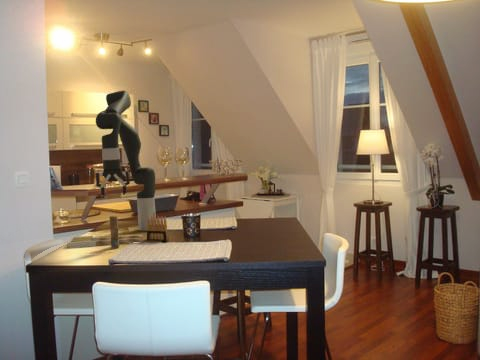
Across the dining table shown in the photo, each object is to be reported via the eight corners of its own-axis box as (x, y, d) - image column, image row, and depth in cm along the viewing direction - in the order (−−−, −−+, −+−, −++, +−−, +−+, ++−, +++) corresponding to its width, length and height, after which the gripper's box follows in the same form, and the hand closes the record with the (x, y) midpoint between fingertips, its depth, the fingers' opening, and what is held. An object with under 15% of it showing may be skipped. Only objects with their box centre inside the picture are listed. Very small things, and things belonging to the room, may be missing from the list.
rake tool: (119, 246, 210) (117, 215, 209) (118, 249, 205) (116, 216, 204) (112, 247, 210) (110, 215, 209) (111, 249, 205) (109, 217, 204)
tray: (99, 243, 222) (98, 236, 222) (96, 247, 212) (95, 241, 212) (72, 245, 221) (72, 238, 220) (67, 249, 210) (67, 243, 210)
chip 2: (93, 244, 219) (92, 235, 218) (91, 246, 215) (91, 237, 214) (84, 245, 218) (83, 236, 218) (82, 246, 214) (81, 237, 214)
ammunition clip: (168, 241, 220) (167, 215, 219) (166, 242, 218) (165, 216, 218) (149, 240, 224) (147, 215, 223) (146, 241, 222) (145, 215, 222)
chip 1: (84, 245, 218) (83, 236, 218) (82, 246, 214) (82, 237, 214) (74, 245, 218) (74, 236, 217) (73, 247, 214) (72, 238, 213)
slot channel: (143, 240, 226) (142, 234, 226) (141, 244, 214) (141, 238, 214) (99, 243, 223) (99, 237, 223) (95, 248, 211) (95, 241, 211)
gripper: (128, 157, 214) (131, 193, 216) (95, 159, 212) (98, 195, 213) (127, 158, 207) (130, 195, 208) (93, 160, 205) (96, 197, 206)
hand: (114, 195), depth 211 cm, fingers open, 8 cm apart
